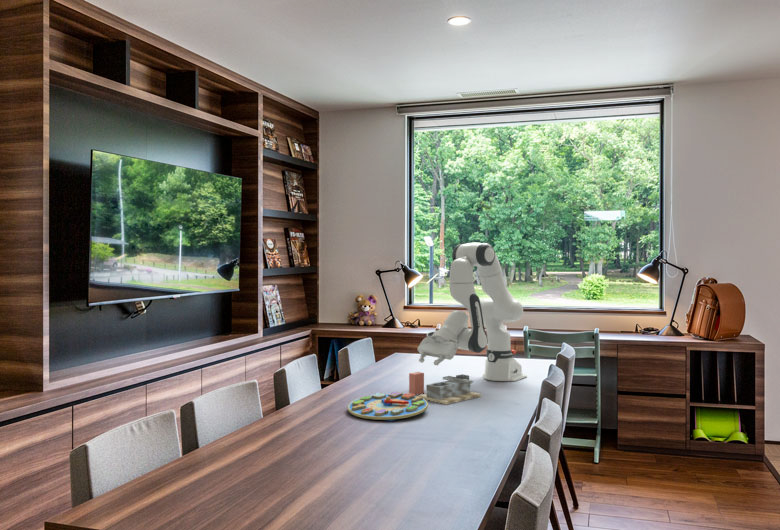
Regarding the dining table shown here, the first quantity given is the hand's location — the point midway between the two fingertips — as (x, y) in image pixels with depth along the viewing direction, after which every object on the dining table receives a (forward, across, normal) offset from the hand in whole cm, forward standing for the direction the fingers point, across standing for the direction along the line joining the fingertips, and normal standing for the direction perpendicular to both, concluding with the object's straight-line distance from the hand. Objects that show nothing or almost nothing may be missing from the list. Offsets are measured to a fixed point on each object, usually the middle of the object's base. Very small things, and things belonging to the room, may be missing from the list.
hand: (427, 363), depth 277 cm
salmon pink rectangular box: (+14, 0, -4) cm, 14 cm away
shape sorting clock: (+35, -16, +16) cm, 42 cm away
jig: (+9, -14, -9) cm, 19 cm away
